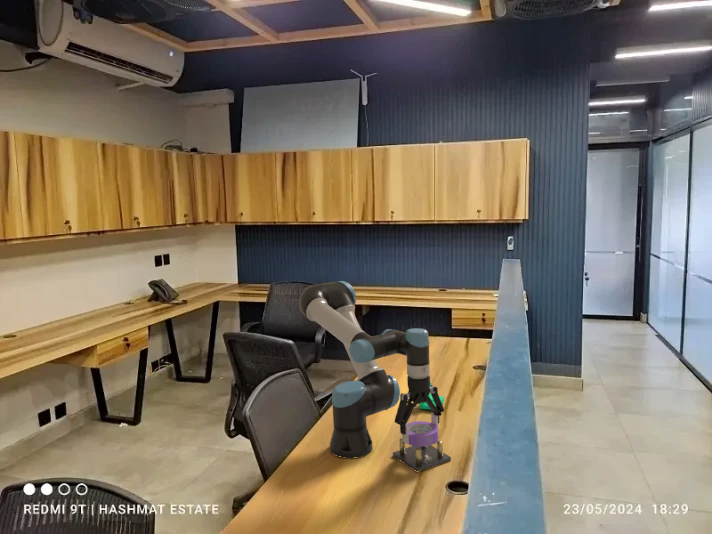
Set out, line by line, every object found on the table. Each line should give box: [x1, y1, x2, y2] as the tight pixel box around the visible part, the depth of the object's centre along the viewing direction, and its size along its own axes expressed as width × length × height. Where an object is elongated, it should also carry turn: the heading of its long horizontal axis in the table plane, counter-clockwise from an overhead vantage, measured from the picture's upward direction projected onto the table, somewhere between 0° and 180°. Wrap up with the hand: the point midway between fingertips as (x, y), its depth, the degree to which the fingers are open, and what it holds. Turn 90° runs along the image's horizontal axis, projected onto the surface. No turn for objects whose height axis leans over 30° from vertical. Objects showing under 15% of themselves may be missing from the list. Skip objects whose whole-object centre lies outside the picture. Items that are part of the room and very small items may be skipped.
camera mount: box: [419, 382, 445, 411], centre depth 225 cm, size 12×8×10 cm, turn 157°
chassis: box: [392, 437, 452, 472], centre depth 180 cm, size 14×14×6 cm
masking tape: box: [407, 421, 439, 447], centre depth 179 cm, size 12×12×4 cm
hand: (420, 437), depth 179 cm, fingers closed on masking tape, 12 cm apart
